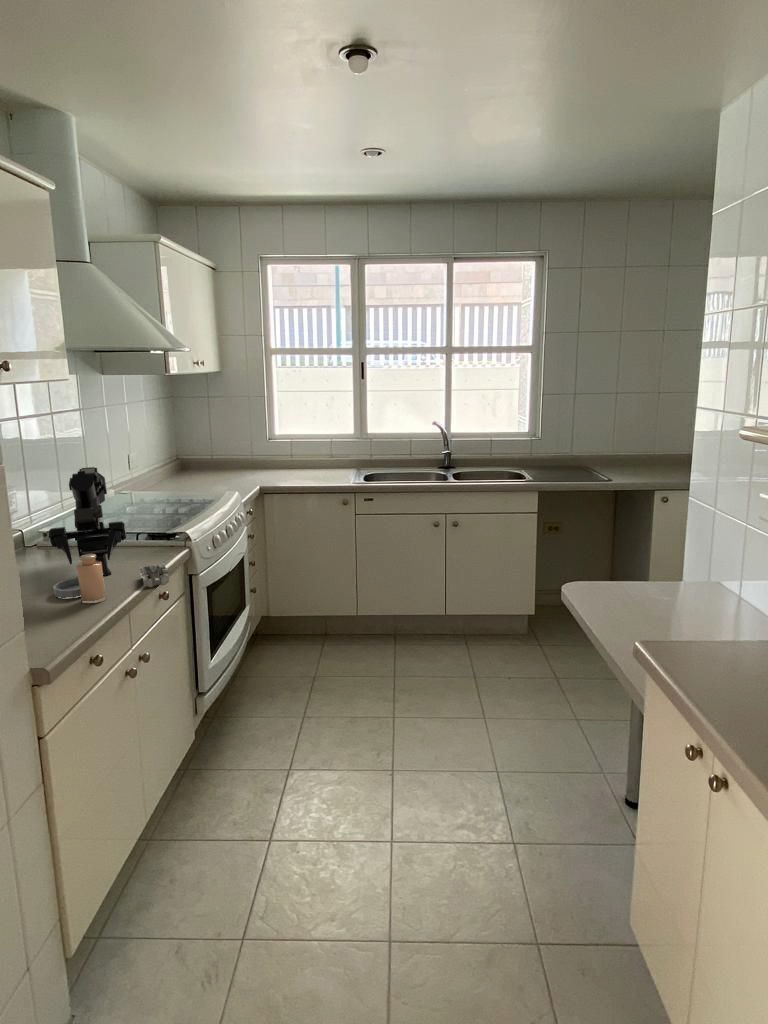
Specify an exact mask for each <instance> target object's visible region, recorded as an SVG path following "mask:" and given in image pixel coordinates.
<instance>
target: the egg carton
mask: <svg viewBox="0 0 768 1024" xmlns="http://www.w3.org/2000/svg"><path fill="white" fill-rule="evenodd" d="M139 569H140V570H139V574H140V577H141V579H142V578H143V579H142V582H143V587H148V588H153V587H154V586H158V585H159V586H165V585H166V584H169V583H170V576H169V573H168V572H169V568H167V567H166V566H165V565H163V564H162V566H159V565H158V564H156V565H148V566H146V565H145V566H143V565H140V568H139ZM147 575H148V576H147ZM148 577H150V578H148Z"/></svg>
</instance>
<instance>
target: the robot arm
mask: <svg viewBox="0 0 768 1024" xmlns="http://www.w3.org/2000/svg"><path fill="white" fill-rule="evenodd" d="M68 487H69V488H68V489H69V491H71V492H72V497H73V499H74V502H75V509H74V510H73V513H74V514H73V516H74V520H73V521H74V527H75V529H76V530H70V531H67V530H66V527H65V526H62V527H52V528H50V529H49V530H48V538H49V539H48V540H49V542H50V544H51V546H52V547H53V548H57V549H58V550H62V551H63V552H64V554H65V556H66V558H67V560H68V562H69V564H70V565H73V558H72V553H71V552H72V551H71V547H70V543H69V540H71V539H72V540H73V539H76V546H77V550H78V557H79V558H80V556H82V555H85V554H96V558H95V560H97V561H101V562H102V570H103V575H104V576H107V575H106V574H109V575H112V574H111V573H112V571H111V570H110V568H109V567H108V566H109V565H108V561H110V560H111V557H112V555H113V552H114V551H115V548H116V546H117V544H119V543H122V541H123V540H126V539H127V532H126V531H127V530H126V525H125V522H124V521H122V520H119V521H112V522H108V527H105V524H104V523H103V521H101V519H103V518H104V516H103V515H104V514H103V507H102V506H103V505H102V503H104V502H105V501H106V495H108V490H107V483H106V479H105V476H104V475H102V474H101V473H99V472H98V467H95V466H91V467H81V468H79V469H78V470H77V473H72V474H71V477H69V482H68Z"/></svg>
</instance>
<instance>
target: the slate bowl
mask: <svg viewBox="0 0 768 1024" xmlns="http://www.w3.org/2000/svg"><path fill="white" fill-rule="evenodd" d="M52 588H53V594H55V595H54V597H55V596H56V597H61V598H66V597H76V596H80V595H81V594H80V587H79V580H78V576H77V577H73V578H68V579H64V580H60V581H58V582H56V583H55V584H54V585H53V586H52ZM56 597H55V598H56Z"/></svg>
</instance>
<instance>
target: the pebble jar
mask: <svg viewBox="0 0 768 1024" xmlns="http://www.w3.org/2000/svg"><path fill="white" fill-rule="evenodd" d="M79 558H80V560H81V562H80V563H77V564H76V571H77V572H76V573H77V577H78V580H79V587H80V594H81V598H80V600H82V601H95V600H99V599H102V598H104V597H105V596H106V597H107V594H106V586H105V580H104V576H103V570H102V562H101V561H97V560H95V558H96V554H85V555H82V556H80V557H79ZM82 601H81V602H82Z"/></svg>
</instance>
